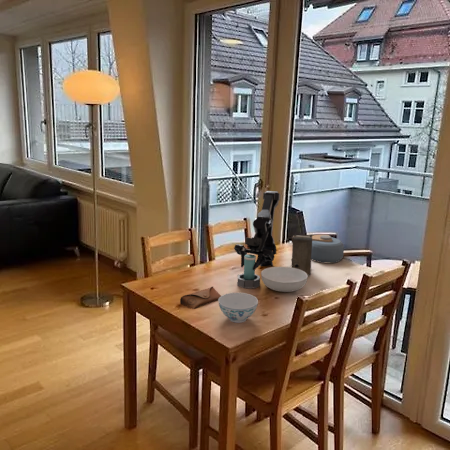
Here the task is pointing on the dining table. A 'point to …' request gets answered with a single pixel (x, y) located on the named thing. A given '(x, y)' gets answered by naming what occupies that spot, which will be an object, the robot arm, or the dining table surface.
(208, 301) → the sunglasses case
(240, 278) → the socket ring
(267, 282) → the serving bowl
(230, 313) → the chinaware
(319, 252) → the grey squat cylinder
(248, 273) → the teal peg
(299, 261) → the vintage camera
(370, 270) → the dining table surface
